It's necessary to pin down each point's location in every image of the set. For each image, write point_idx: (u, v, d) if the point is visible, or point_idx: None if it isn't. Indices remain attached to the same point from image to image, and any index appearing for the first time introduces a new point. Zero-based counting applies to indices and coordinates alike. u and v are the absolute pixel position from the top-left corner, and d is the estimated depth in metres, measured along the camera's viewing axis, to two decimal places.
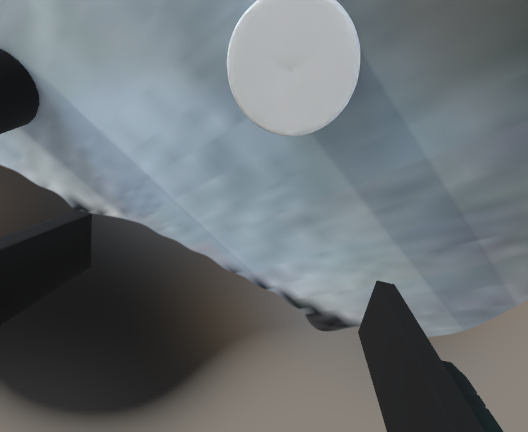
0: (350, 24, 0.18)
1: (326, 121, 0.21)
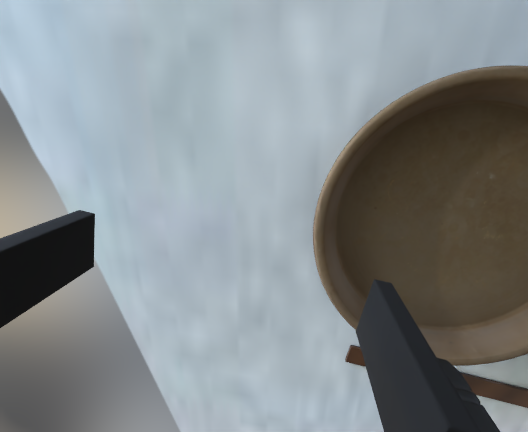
0: None
1: None
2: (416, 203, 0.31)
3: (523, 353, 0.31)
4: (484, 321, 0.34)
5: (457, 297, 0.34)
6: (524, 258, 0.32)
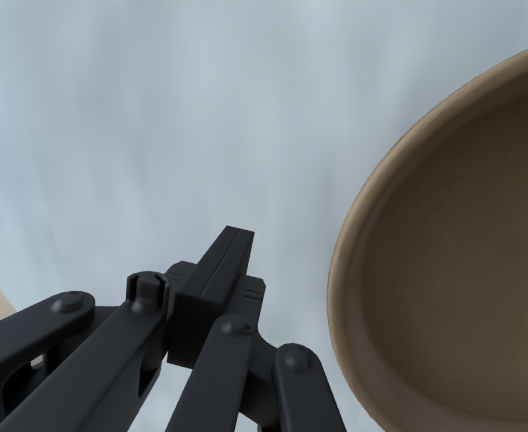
0: None
1: None
2: (490, 246, 0.20)
3: None
4: None
5: None
6: None
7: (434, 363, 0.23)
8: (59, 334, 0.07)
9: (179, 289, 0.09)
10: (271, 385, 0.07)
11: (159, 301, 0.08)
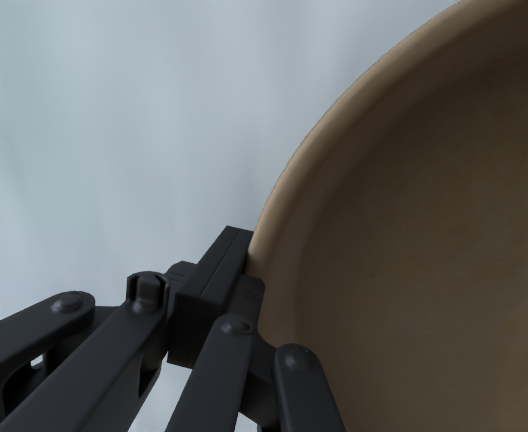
0: None
1: None
2: (459, 268, 0.15)
3: None
4: None
5: None
6: None
7: (393, 415, 0.18)
8: (59, 334, 0.07)
9: (179, 289, 0.09)
10: (270, 385, 0.07)
11: (159, 301, 0.08)
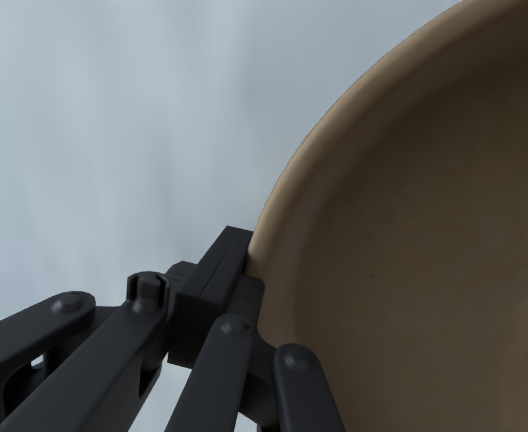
0: None
1: None
2: (458, 268, 0.15)
3: None
4: None
5: None
6: None
7: (392, 415, 0.18)
8: (59, 334, 0.07)
9: (179, 289, 0.09)
10: (270, 385, 0.07)
11: (159, 301, 0.08)
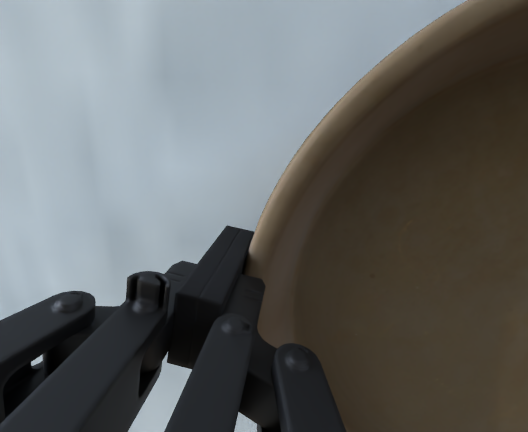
0: None
1: None
2: (458, 269, 0.15)
3: None
4: None
5: None
6: None
7: (391, 415, 0.18)
8: (59, 334, 0.07)
9: (179, 289, 0.09)
10: (271, 385, 0.07)
11: (159, 301, 0.08)
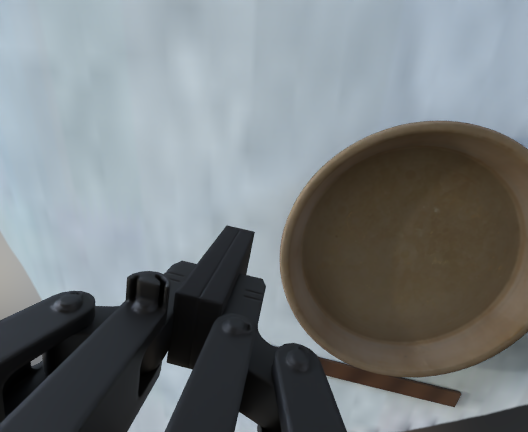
0: None
1: None
2: (372, 233, 0.35)
3: (467, 366, 0.35)
4: (436, 336, 0.38)
5: (411, 315, 0.38)
6: (467, 281, 0.36)
7: (347, 304, 0.38)
8: (59, 334, 0.07)
9: (179, 289, 0.09)
10: (271, 385, 0.07)
11: (159, 301, 0.08)
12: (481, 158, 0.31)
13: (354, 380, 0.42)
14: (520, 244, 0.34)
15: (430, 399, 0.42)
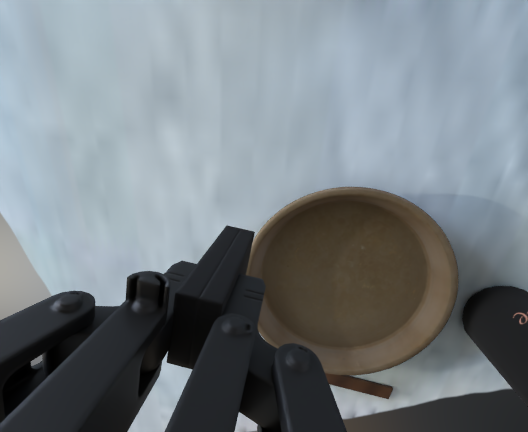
0: None
1: None
2: (315, 264, 0.46)
3: (388, 367, 0.46)
4: (369, 343, 0.48)
5: (349, 326, 0.48)
6: (390, 301, 0.46)
7: (299, 318, 0.48)
8: (59, 334, 0.07)
9: (179, 289, 0.09)
10: (271, 385, 0.07)
11: (159, 301, 0.08)
12: (392, 211, 0.41)
13: None
14: (427, 274, 0.44)
15: (369, 392, 0.52)
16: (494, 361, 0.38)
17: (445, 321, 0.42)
